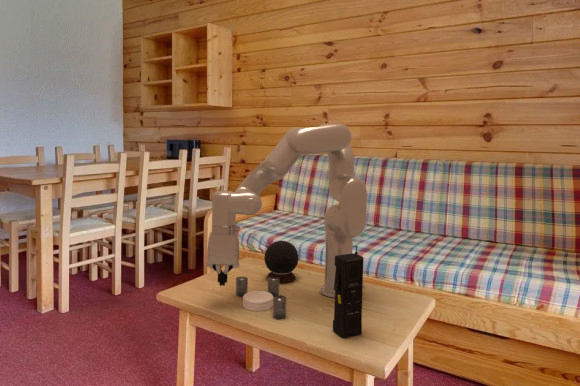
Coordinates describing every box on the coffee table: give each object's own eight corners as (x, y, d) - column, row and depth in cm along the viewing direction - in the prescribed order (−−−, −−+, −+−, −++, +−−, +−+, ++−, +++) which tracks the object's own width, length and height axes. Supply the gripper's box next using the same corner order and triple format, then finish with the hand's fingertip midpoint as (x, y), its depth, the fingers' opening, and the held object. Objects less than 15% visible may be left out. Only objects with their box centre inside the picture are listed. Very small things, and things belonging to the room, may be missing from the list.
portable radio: (340, 340, 125) (343, 252, 121) (328, 331, 130) (331, 247, 126) (363, 334, 128) (367, 249, 124) (351, 326, 133) (354, 244, 130)
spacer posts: (284, 292, 159) (284, 276, 158) (286, 319, 137) (286, 300, 136) (236, 292, 158) (236, 276, 158) (230, 319, 137) (230, 300, 136)
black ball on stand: (284, 287, 165) (284, 247, 162) (257, 279, 173) (257, 241, 170) (304, 278, 175) (305, 240, 173) (278, 271, 183) (279, 235, 181)
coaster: (248, 313, 141) (248, 303, 141) (239, 302, 150) (239, 292, 150) (277, 309, 145) (277, 298, 145) (266, 298, 154) (267, 288, 154)
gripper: (247, 227, 148) (246, 281, 150) (202, 226, 147) (201, 280, 150) (246, 232, 140) (244, 289, 143) (198, 231, 140) (197, 287, 142)
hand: (222, 284), depth 146 cm, fingers closed
